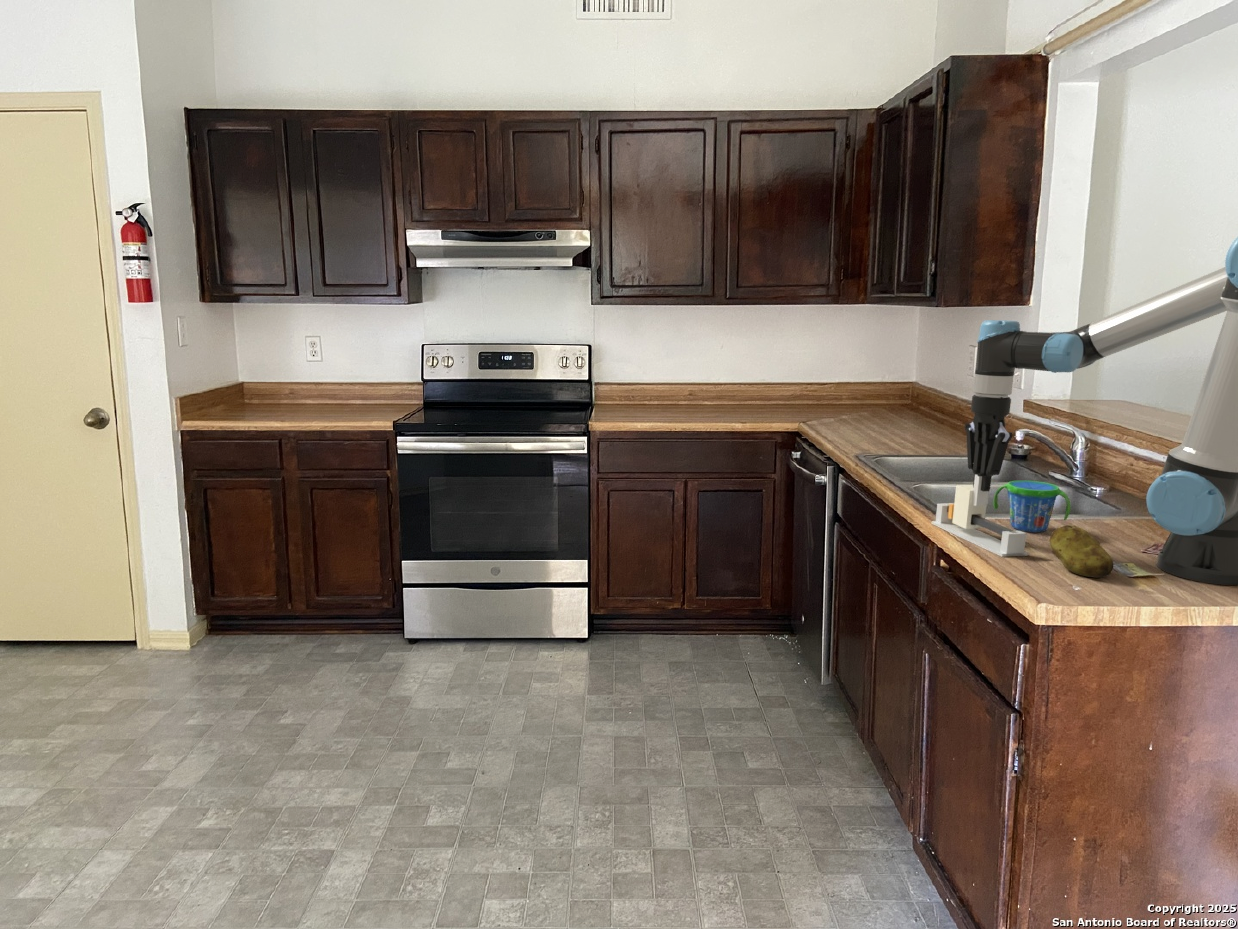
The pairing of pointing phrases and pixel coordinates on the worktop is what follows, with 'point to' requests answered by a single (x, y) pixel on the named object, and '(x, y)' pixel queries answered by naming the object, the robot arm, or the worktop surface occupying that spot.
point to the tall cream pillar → (966, 507)
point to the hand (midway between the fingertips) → (979, 504)
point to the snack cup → (1031, 504)
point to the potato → (1080, 552)
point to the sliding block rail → (1006, 547)
